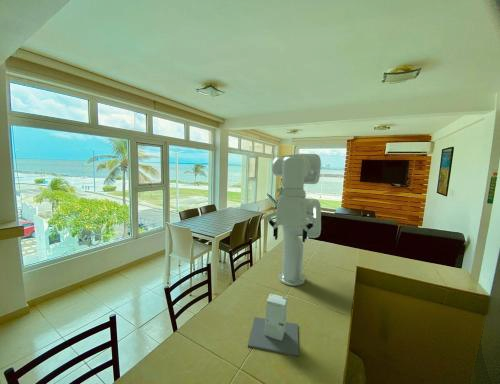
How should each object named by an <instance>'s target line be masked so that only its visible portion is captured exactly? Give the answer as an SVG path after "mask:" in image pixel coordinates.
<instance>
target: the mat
mask: <svg viewBox="0 0 500 384" xmlns="http://www.w3.org/2000/svg"><path fill="white" fill-rule="evenodd" d="M265 320H266V318H263V317H258V316H254V318H253V323H252V327H251V331H250V335H249V338H248V339H249V340H248V344H247V347H248V348H254V349H259V350H263V351H268V352H269V351H270V352H272V353H273V352H274V353H279V354H286V355H290V356H294V357H299V354H300V353H299V329H298V323H295V322H288V321H286V324H285V333H284V336H283V340H282V341H280V340H277V339H274V338H271V337H268V336H266V335H265Z"/></svg>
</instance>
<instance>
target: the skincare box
mask: <svg viewBox="0 0 500 384" xmlns="http://www.w3.org/2000/svg"><path fill="white" fill-rule="evenodd" d="M267 297H268V298H267V299H266V306H265V307H266V308H265V319H266V320H265V335H266V336H268V337H271V338H274V339H277V340H280V341H282V340H283V336H284V333H285V324H286V322H287V307H288V297H284V296H282V295H279V294H274V293H269V295H268V296H267Z"/></svg>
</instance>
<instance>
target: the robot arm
mask: <svg viewBox="0 0 500 384" xmlns="http://www.w3.org/2000/svg"><path fill="white" fill-rule="evenodd" d="M321 167H322V160H321V157H320V155H319V154H317V153H296V154H288V155H279V156H276V157H274V159H273V161H272V164H271V168H272V169H271V170H272V173H273V175H274V176H276V177H281V187H280V188H277V189H276V192H277V193H279V194H280V195H279V196H278V198H277V204H276V210H274V211H273V212H270V213H267V215H266V219H267V221H268V224H269V225H270V226H271V227H272V228H273V237H274V240H275V241H277V240H278V236H279V235H278V232H279V227H278V226H281V227H282V228H281V229H282V235H283V236H282V238H283V239H282V241H283V242H282V261H281V262H282V263H281V265H282V266H281V271H280V272H279V273H278V277H277V278H278V279H279V281H280V282H281V283H283V284H285V285H287V286H292V287H294V286H295V287H296V286H301V285H303V284H304V283H305V281H306V278H305V275H303V261H304V244H303V243H305V242H306V240H307V239H308V238H311V239H313V238H314V239H315V238H319V237H320V235H321V230H322V208H321V203H320V201H319V200H318V199H315V198H307V197H306V196H307V192H306V191H305V189H304V185H316V184H318V183H319V181H320V177H321V169H322V168H321ZM273 217H275V222H274V220H273V219H272V218H273ZM300 237H301V238H300Z"/></svg>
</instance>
